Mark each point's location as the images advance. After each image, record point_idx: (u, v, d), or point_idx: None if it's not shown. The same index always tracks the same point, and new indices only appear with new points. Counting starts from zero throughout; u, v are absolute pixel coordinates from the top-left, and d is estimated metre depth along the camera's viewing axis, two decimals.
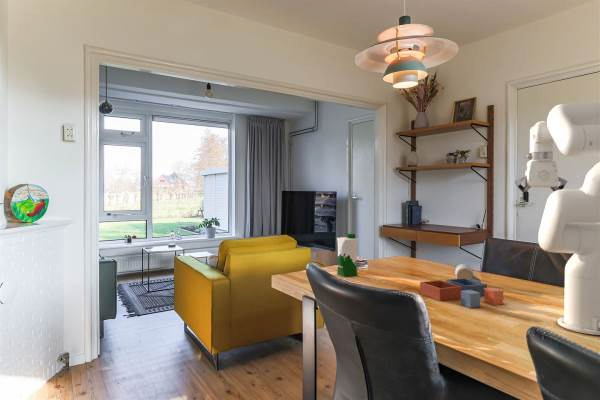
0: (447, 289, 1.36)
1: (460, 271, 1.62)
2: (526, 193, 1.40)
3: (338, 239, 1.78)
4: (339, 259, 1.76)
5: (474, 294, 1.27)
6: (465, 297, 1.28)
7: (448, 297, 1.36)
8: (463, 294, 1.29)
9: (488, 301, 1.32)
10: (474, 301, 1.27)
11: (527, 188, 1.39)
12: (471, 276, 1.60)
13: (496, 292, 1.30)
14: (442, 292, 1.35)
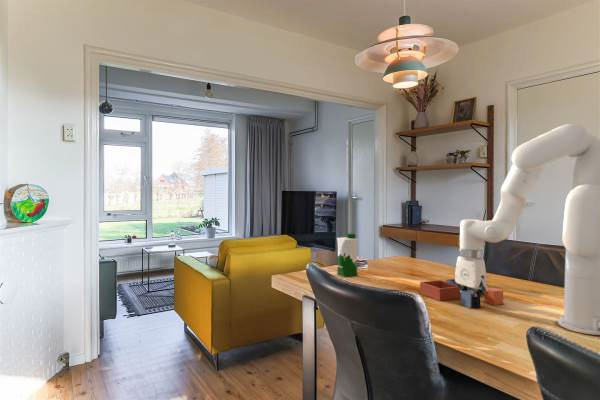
0: (447, 289, 1.36)
1: None
2: None
3: (338, 239, 1.78)
4: (339, 259, 1.76)
5: None
6: (465, 297, 1.28)
7: (448, 297, 1.36)
8: (463, 294, 1.29)
9: (488, 301, 1.32)
10: None
11: (462, 289, 1.31)
12: None
13: (496, 292, 1.30)
14: (442, 292, 1.35)
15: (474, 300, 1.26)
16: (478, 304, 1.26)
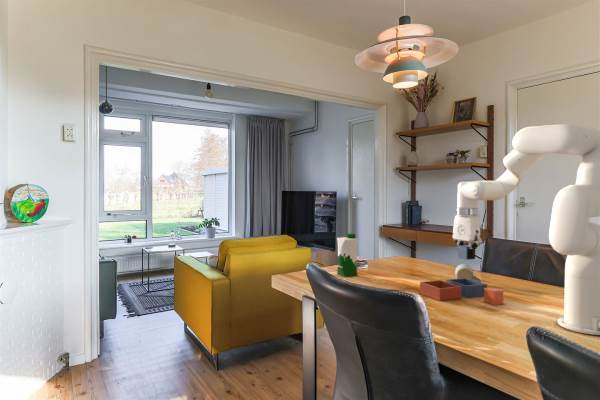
0: (447, 289, 1.36)
1: (460, 271, 1.62)
2: None
3: (338, 239, 1.78)
4: (339, 259, 1.76)
5: None
6: (462, 250, 1.45)
7: (448, 297, 1.36)
8: (460, 248, 1.46)
9: (488, 301, 1.32)
10: None
11: (459, 244, 1.47)
12: (471, 276, 1.60)
13: (496, 292, 1.30)
14: (442, 292, 1.35)
15: (469, 252, 1.42)
16: (473, 256, 1.42)
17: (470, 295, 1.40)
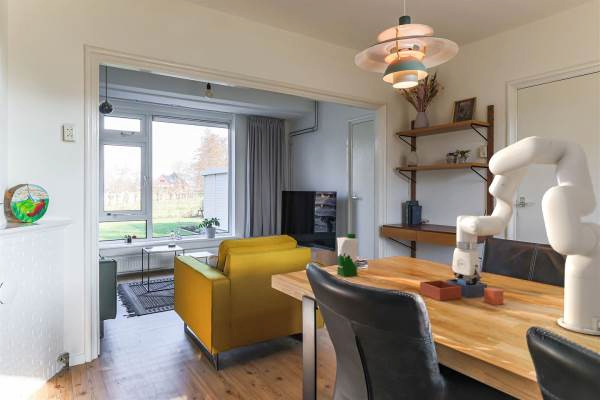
0: (447, 289, 1.36)
1: None
2: None
3: (338, 239, 1.78)
4: (339, 259, 1.76)
5: None
6: None
7: (448, 297, 1.36)
8: (459, 281, 1.47)
9: (488, 301, 1.32)
10: None
11: (457, 276, 1.49)
12: None
13: (496, 292, 1.30)
14: (442, 292, 1.35)
15: None
16: None
17: (470, 295, 1.40)
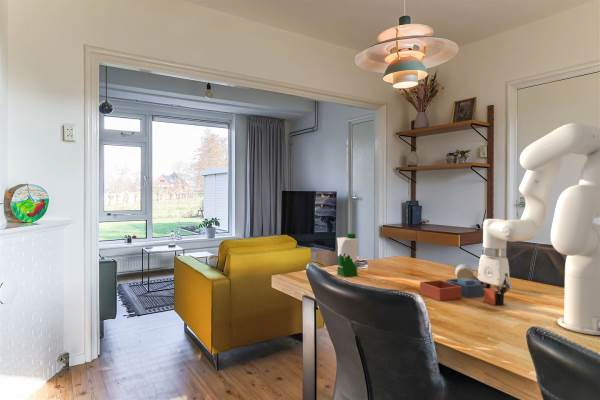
0: (447, 289, 1.36)
1: (460, 271, 1.62)
2: None
3: (338, 239, 1.78)
4: (339, 259, 1.76)
5: (469, 281, 1.44)
6: None
7: (448, 297, 1.36)
8: (459, 281, 1.47)
9: (488, 301, 1.32)
10: None
11: (485, 286, 1.35)
12: (471, 276, 1.60)
13: (496, 292, 1.30)
14: (442, 292, 1.35)
15: (498, 297, 1.30)
16: (502, 301, 1.30)
17: (470, 295, 1.40)
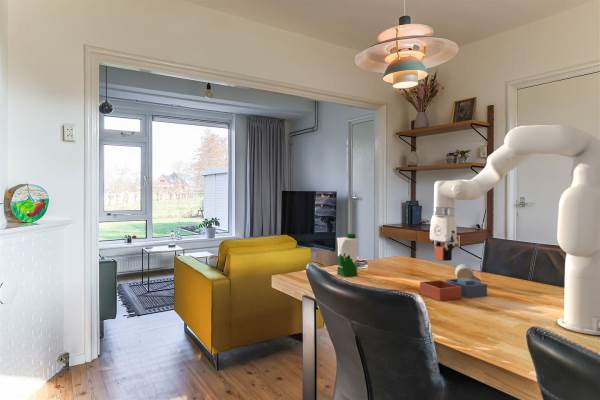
0: (447, 289, 1.36)
1: (460, 271, 1.62)
2: None
3: (338, 239, 1.78)
4: (339, 259, 1.76)
5: (469, 281, 1.44)
6: None
7: (448, 297, 1.36)
8: (459, 281, 1.47)
9: (438, 258, 1.41)
10: None
11: (435, 244, 1.43)
12: (471, 276, 1.60)
13: (444, 249, 1.39)
14: (442, 292, 1.35)
15: (446, 253, 1.38)
16: (449, 257, 1.38)
17: (470, 295, 1.40)
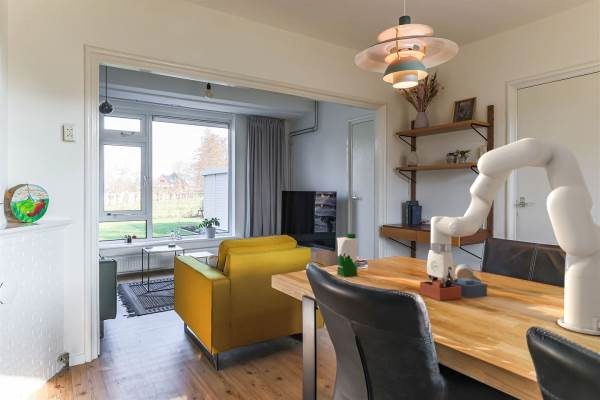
0: (447, 289, 1.36)
1: (460, 271, 1.62)
2: None
3: (338, 239, 1.78)
4: (339, 259, 1.76)
5: (469, 281, 1.44)
6: None
7: (448, 297, 1.36)
8: (459, 281, 1.47)
9: None
10: None
11: (432, 279, 1.44)
12: (471, 276, 1.60)
13: (441, 284, 1.39)
14: (442, 292, 1.35)
15: None
16: None
17: (470, 295, 1.40)
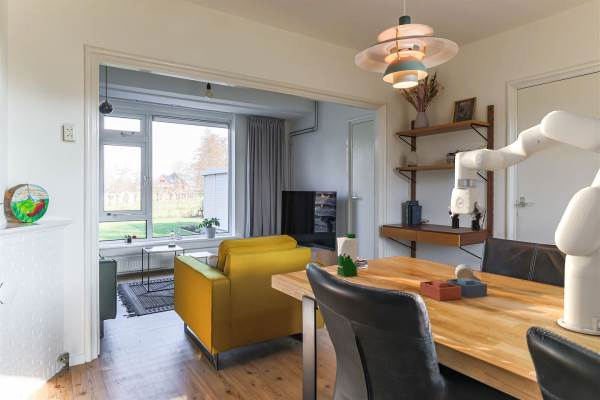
0: (447, 289, 1.36)
1: (460, 271, 1.62)
2: None
3: (338, 239, 1.78)
4: (339, 259, 1.76)
5: (469, 281, 1.44)
6: None
7: (448, 297, 1.36)
8: (459, 281, 1.47)
9: None
10: None
11: (452, 214, 1.42)
12: (471, 276, 1.60)
13: (441, 284, 1.39)
14: (442, 292, 1.35)
15: (473, 223, 1.33)
16: (477, 227, 1.33)
17: (470, 295, 1.40)
